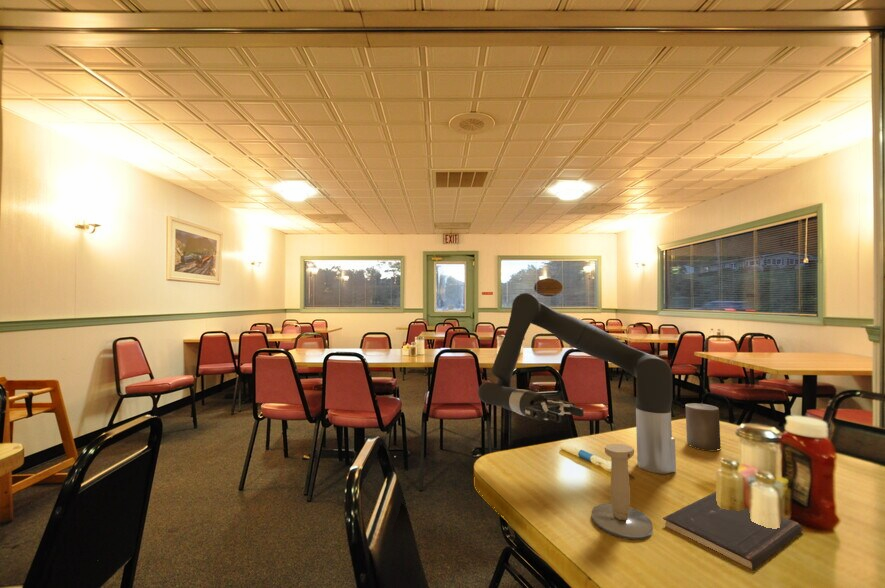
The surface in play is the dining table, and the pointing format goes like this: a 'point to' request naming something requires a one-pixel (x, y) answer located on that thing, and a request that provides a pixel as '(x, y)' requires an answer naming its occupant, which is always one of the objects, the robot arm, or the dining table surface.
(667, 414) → the robot arm
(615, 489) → the handle
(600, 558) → the dining table surface
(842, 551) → the dining table surface
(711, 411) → the pillar candle
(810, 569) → the dining table surface
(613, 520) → the disk
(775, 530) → the hardcover book
